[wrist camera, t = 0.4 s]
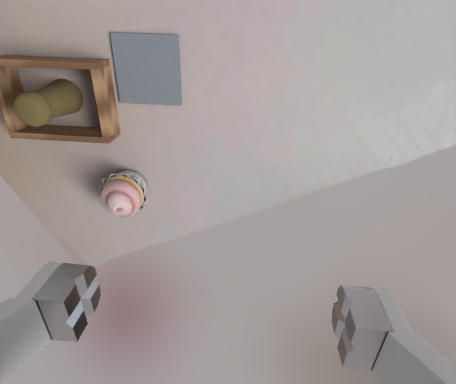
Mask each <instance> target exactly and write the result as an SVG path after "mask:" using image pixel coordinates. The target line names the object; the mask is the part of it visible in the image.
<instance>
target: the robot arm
mask: <svg viewBox="0 0 456 384" xmlns="http://www.w3.org/2000/svg"><path fill="white" fill-rule="evenodd" d="M96 275H97V273H96V270H95V267H93V266H88V265H78V264H69V263H56V262H48V263H46V264H45V265H44V266H43V267H42V268H41V269H40V270H39V271H38V272H37V274H36V275H35V276H34V277H33V278H32V279H31V281H29V283H28V284H27V285H26V286H25V287H24V288H23V289H22V290H21V292H20V293H19V294H18V295H17V296H16V297H15V298H9V299H7V300H5V301H4V302H2V303H0V383H1V382H2V381H3V380H5V379H6V378H7V377H8V376H9V375H11V374H12V373H13V372H14V371H16V370H17V369H18V368H19V367H21V366H22V365H23V364H24V363H26V362H27V361H28V360H29V359H31V358H32V357H33V356H34V355H36V354H37V353H38V352H39V351H40V350H42V349H43V348H44V347H45V346H47V345H48V344H49V343H50V342H51V340H60V341H61V340H62V341H75V342H77V341H78V340H79V338H80V336H81V335H82V333H83V331H84V329H85V327H86V326H87V324H88V323H87V318H86V317H88V316H89V315H91V314H92V313H93V312H95V310H96V308H97V306H98V304H99V300H100V296H101V295H100V294H101V289H100V285H99V283H98V282H97V281H96V280H94V278H95V277H96ZM337 297H338V301H337V302H336V303H334V305H333V310H332V325H333V330H334V334H335V335H336V336H337V337H338V338H339V339H340V340H339V343H338V351H339V355H340V359H341V363H342V367H343V368H351V369H359V370H366V371H372V372H371V373H372V374H373V375H374V377H375V378H376V379H377V380H378V382H379V383H380V384H456V365H455V364H454V363H453V362H451V361H450V360H449V359H448V358H446V357H445V356H444V355H443V354H442V353H440V352H439V351H438V350H436V349H435V348H434V347H433V346H432V345H431V344H429V343H428V342H427V341H426V340H425V339H423V338H422V337H421V336H420V335H418V334H413V332H412V330H411V329H410V326H409V325H408V322H407V320H406V319H405V316H404V315H403V313H402V311H401V309H400V307H399V305H398V303H397V301H396V299H395V297H394V295H393V293H392V291H391V290H390V289H384V288H369V287H355V286H341V285H340V287H339V288H338V290H337Z"/></svg>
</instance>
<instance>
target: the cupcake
mask: <svg viewBox="0 0 456 384" xmlns="http://www.w3.org/2000/svg"><path fill="white" fill-rule="evenodd" d="M102 183H103V186H102V187H100V188H99V191H100V192H101V203H102V205H103V207H104V208H105V209H106V211H107V212H109V213H111V214H113V215H118V216H122V217H127V216H132V215H135V214H136V213H137V211H139V210H144V203H146V202H147V201H148V199H147V196H146V191H147V183H146V180H145V179H144V177H143V176H142V175H141V174H140V173H138V172H136V171H133V170H125V171H122V172H120V173H117V174H111V175H110V176H109V178H105V179H103V180H102Z"/></svg>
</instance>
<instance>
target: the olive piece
mask: <svg viewBox="0 0 456 384" xmlns="http://www.w3.org/2000/svg"><path fill="white" fill-rule="evenodd" d="M82 105H83V97H82V94H81V92H80V90H79V88H78V87H77V86H76V85H75V84H74V83H72V82H71V81H69V80H66V79H58V80H55V81H54V82H52V83H50V84H49V85H47V86H45V87H44V88H42V89H40V90H39V91H37V92H25V93H22V94H20V95H19V96H18V97H17V98H16V99H15V101H14V111H15V114H16V115H17V117H18V118H19V119H20V120H21V121H22V122H23V123H25V124H27V125H30V126H33V127H39V126H43V125H45V124H47V123H48V122H49V121H50V120H51V118H54V117H58V116H63V115H67V114H71V113H75V112H77V111H79V110H80V109H81V107H82Z"/></svg>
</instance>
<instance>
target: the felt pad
mask: <svg viewBox="0 0 456 384" xmlns="http://www.w3.org/2000/svg"><path fill="white" fill-rule="evenodd" d="M110 36H111V43H112V50H113V57H114V64H115V71H116V78H117V85H118V91H119V98H120V103H141V104H161V105H182V99H181V78H180V57H179V36H178V35H170V34H140V33H110Z"/></svg>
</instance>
